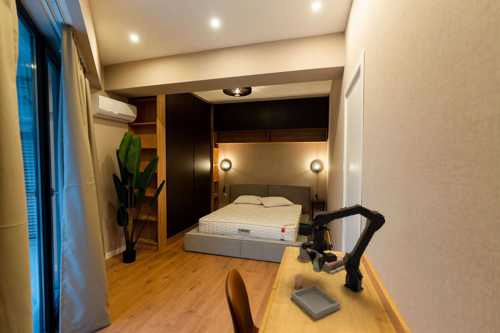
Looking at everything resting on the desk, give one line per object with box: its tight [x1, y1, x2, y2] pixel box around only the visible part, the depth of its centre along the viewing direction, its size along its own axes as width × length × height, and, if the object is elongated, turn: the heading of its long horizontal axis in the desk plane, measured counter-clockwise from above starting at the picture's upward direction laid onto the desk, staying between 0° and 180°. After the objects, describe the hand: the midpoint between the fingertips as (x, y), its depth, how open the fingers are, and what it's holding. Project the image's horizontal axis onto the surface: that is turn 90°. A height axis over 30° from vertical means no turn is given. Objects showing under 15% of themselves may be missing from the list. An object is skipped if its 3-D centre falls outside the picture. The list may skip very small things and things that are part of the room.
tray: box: [290, 284, 341, 321], centre depth 89 cm, size 14×14×3 cm
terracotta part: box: [294, 273, 305, 290], centre depth 101 cm, size 4×4×5 cm
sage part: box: [312, 259, 322, 273], centre depth 107 cm, size 4×4×5 cm
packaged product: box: [321, 255, 345, 275], centre depth 122 cm, size 18×5×10 cm
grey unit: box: [296, 241, 321, 263], centre depth 131 cm, size 6×15×9 cm, turn 119°
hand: (317, 268), depth 107 cm, fingers closed on sage part, 4 cm apart
